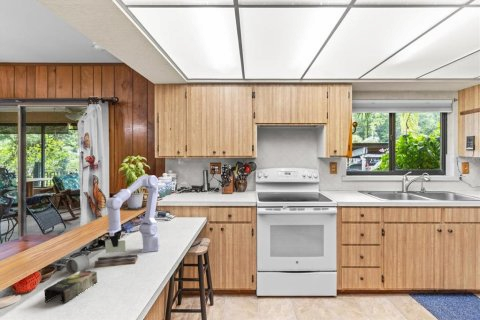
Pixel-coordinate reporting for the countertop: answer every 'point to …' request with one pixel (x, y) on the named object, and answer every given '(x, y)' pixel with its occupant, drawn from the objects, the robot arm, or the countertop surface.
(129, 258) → the track board
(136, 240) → the countertop surface
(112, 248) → the door panel
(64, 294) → the mossy channel block
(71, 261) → the grey cylinder
